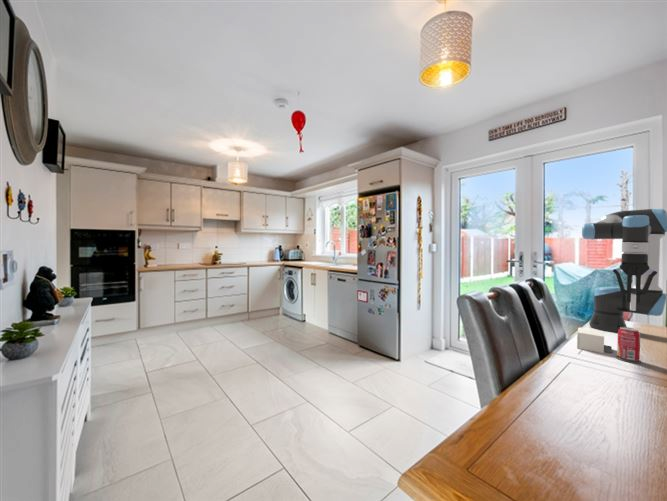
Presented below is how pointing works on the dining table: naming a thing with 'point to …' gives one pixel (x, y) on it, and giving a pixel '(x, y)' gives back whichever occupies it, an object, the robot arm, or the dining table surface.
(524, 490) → the dining table surface
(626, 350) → the beverage can
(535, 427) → the dining table surface
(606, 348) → the slate tile
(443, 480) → the dining table surface
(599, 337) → the large cream box
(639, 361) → the coaster
